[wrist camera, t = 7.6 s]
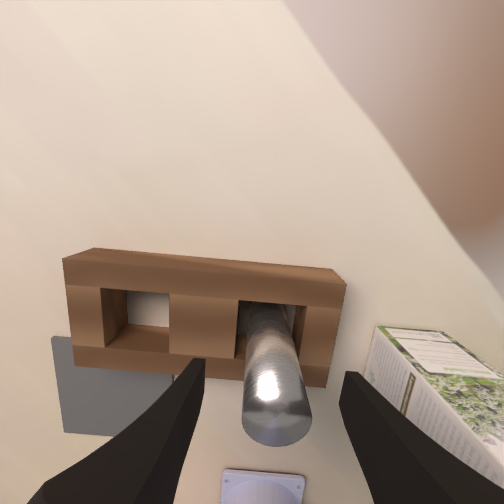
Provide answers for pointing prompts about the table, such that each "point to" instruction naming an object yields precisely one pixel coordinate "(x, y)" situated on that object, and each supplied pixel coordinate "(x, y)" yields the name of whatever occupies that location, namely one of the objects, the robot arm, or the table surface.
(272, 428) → the peg
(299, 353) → the walnut hole block
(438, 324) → the table surface
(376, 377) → the syrup box
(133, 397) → the rubber mat
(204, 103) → the table surface
